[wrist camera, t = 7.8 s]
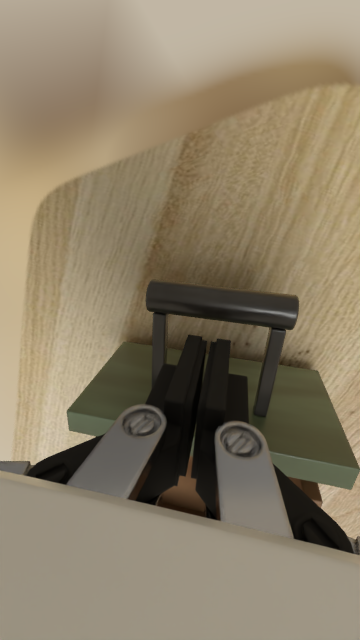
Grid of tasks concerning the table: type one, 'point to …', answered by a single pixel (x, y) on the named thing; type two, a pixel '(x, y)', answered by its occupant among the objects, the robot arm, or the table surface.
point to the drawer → (263, 377)
